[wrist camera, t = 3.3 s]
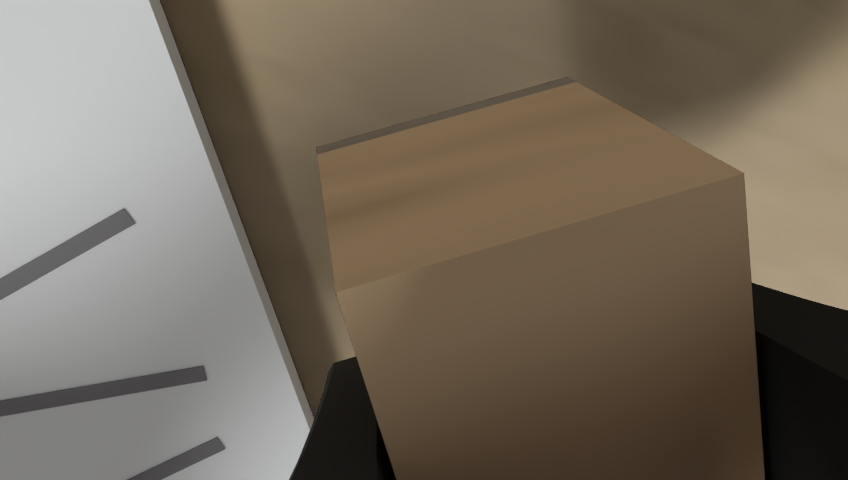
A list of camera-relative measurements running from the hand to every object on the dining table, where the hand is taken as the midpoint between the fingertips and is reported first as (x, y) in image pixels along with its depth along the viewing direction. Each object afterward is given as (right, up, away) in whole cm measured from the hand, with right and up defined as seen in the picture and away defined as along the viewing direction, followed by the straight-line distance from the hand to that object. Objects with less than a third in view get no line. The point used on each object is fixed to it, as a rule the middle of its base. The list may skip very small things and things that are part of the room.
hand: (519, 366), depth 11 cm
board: (-10, -1, +8) cm, 13 cm away
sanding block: (0, +1, +2) cm, 2 cm away
